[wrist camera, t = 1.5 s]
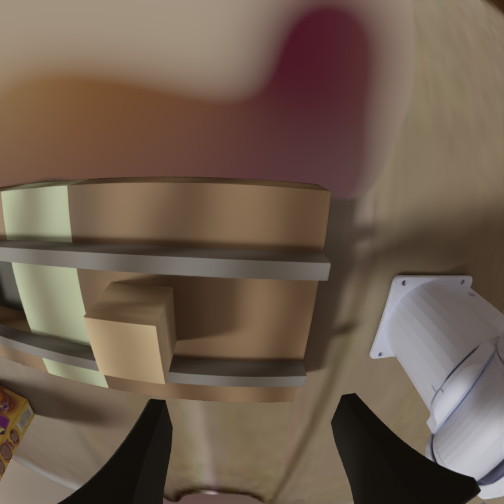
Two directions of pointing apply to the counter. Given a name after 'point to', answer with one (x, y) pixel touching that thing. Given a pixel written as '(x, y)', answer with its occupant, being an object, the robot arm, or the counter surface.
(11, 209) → the lane deck
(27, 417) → the candy box
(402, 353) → the robot arm
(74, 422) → the counter surface
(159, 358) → the birch block
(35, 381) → the counter surface
